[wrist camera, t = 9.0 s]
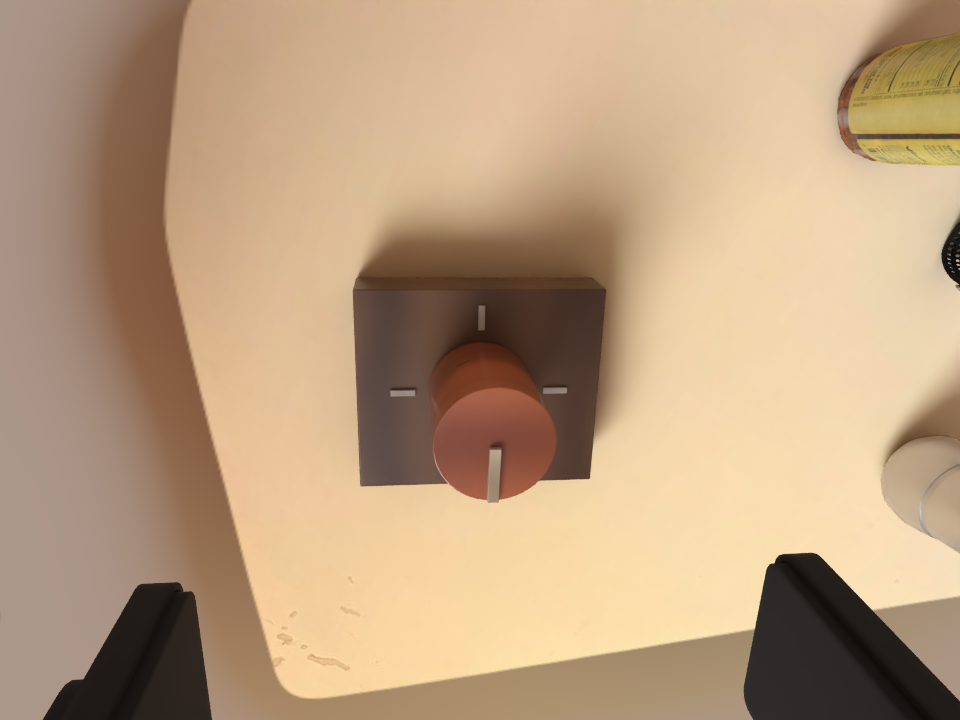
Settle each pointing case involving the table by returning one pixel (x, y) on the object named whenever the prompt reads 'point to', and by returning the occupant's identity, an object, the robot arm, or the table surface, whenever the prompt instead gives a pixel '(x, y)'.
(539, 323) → the dial base plate
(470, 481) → the rotary dial knob
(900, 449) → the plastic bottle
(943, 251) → the smartwatch
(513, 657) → the table surface
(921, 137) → the sauce bottle
